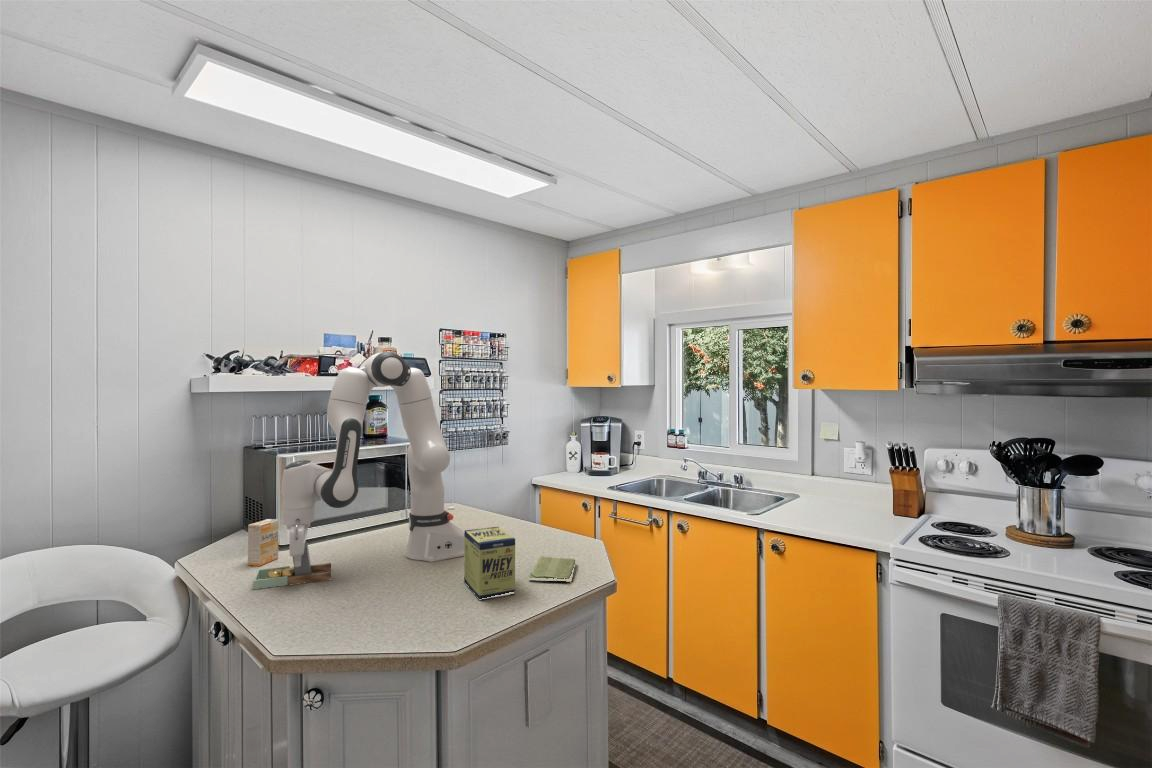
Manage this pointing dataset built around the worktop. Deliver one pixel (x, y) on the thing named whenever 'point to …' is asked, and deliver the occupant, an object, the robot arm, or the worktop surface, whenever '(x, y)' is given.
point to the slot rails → (312, 576)
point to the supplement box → (263, 542)
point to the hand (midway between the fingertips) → (298, 562)
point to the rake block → (304, 563)
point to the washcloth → (553, 568)
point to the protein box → (489, 561)
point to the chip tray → (269, 579)
